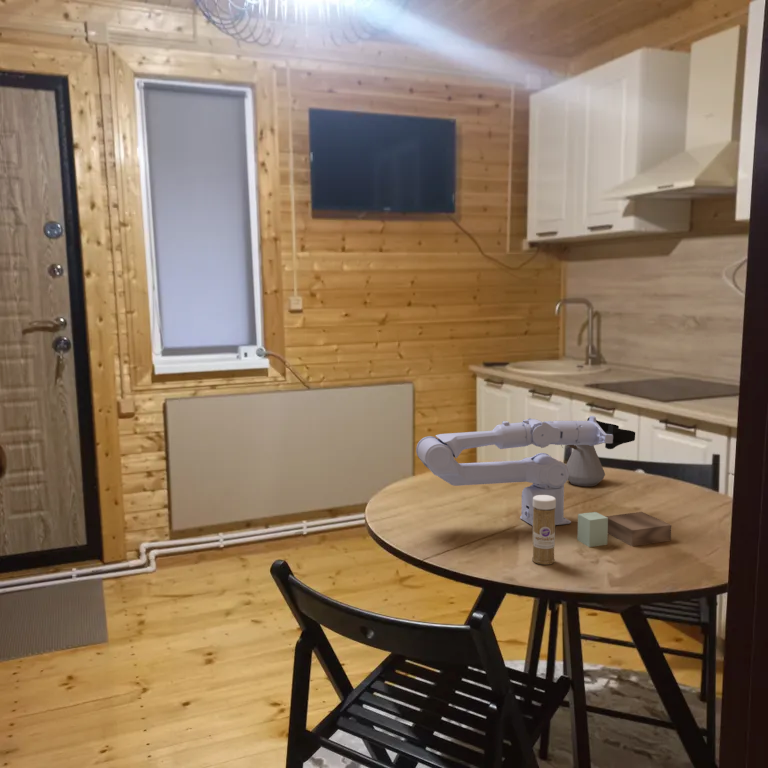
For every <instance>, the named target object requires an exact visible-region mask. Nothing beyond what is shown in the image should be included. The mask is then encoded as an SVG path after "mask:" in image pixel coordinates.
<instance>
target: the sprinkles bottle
mask: <svg viewBox="0 0 768 768" xmlns="http://www.w3.org/2000/svg"><path fill="white" fill-rule="evenodd" d="M555 507H556V499H555V497H553V496H549V495H536V496H534V497H533V509H534V510H533V526H532V559H531V560H532V561H533V562H534V563H535V564H538V565H544V566H546V565H552V564H554V563H555V561H556V559H555V544H556V541H555V539H556V538H555V537H556V525H555Z"/></svg>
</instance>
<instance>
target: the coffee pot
mask: <svg viewBox="0 0 768 768" xmlns="http://www.w3.org/2000/svg"><path fill="white" fill-rule="evenodd" d="M560 446H561V448H563V445H560ZM566 446H567V447H566V449H568V448H571V449H572V452H571V454H570V456H569V458H568V460H567V462H566V463H565V465H566V466H567V467H568V470H569V477H568V479H567V481H569V483H570V484H571V485H573V486H579V487H593V486H597V485H598V484H599V483H600V482H602V481H603V480H604V478H605V476H606V473H605V470H604V469H603V465H602V463H601V460H600V458H599V456H598V453H597V450H596V448H595V445H594V446H590V445H566Z"/></svg>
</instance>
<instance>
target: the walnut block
mask: <svg viewBox="0 0 768 768" xmlns="http://www.w3.org/2000/svg"><path fill="white" fill-rule="evenodd" d="M604 516H605V517H607V518H608V535H610V536H612V537H614V538H616V539H618V540H619V541H622V542H623V543H626V544H627V545H629V546H630V547H635V546H642V545H649V544H656V543H664V542H668V541H669V542H670V541H672V524H670V523H668V522H667V521H666V522H665V521H664V520H661V519H659V518H657V517H654V516H652V515H650V514H648V513H646V512H643V511H637V512H636V511H635V512H629V513H622V514H615V515H614V514H613V515H608V516H607V515H604Z"/></svg>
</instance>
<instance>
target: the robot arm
mask: <svg viewBox="0 0 768 768" xmlns="http://www.w3.org/2000/svg"><path fill="white" fill-rule="evenodd" d="M619 427H620V426H619V425H617V424H614V423H608V422H604V421H600V420H597V417H596V416H594V415H590V416H589V417H588V418H587V420H546V421H545V420H544V421H541V420H539V419H535V418H530V417H529V418H527V419H523V420H522V421H521V422H511V423H510V421H508V420H506V421H505V420H504V421H502V422H501V423H500V424H497V425H495V426H494V428H493V429H492V430H485V431H484V430H483V431H482V430H480V431H467V432H465V431H464V432H453V433H452V432H449V433H439V434H436V435H435V436H431V435H429V436H428V435H427V436H424V437H423V438H421V439H420V440H419V441H418V442H417V445H416V448H415V449H416V450H415V452H416V455H417V457H418V458H419V460H420V462H421V463H423V465H424V467H426V468H427V469H428V470H429V471H430V472H431V473H432V474H433V475H434V476H436V477H438V478H440V479H441V480H443V481H445V483H448V484H449V485H451V486H453V487H457V486H459V487H460V486H473V485H475V486H476V485H490V484H491V485H492V484H493V485H494V484H509V483H512V484H513V483H531V485H529V486H526V487H524V488H523V489H522V491H521V515H520V516H519V519H521V520H523V521H524V522H526V523H527V524H529V525H531V526H532V527H533V510H534V509H533V497H534V496H536V495H549V496H553V497H555V499H556V507H555V526H560V525H568V524H571V523H572V521H571V520H569V519H568V518H566V517H564V511H565V510H564V508H565V507H564V505H565V484H566V483H567V482H568V480H567V479H568V477H569V470H568V467H567V466H566V463H564V462H563V461H560V460H557V459H556V458H554V457H552V456H551V455H549V454H548V453H545V452H539V453H536V454H535V455H533V456H530V457H523V459H521V460H504V461H502V460H501V461H484V462H483V461H482V462H466V463H465V462H461V463H460V462H458V461H457V460H456V459H457V458H458V457H459V456H460V455H461V454H462V451H464V450H468V449H473V448H474V449H476V448H481V447H487V446H493V445H495V447H497V448H498V449H500V450H506V449H513V448H522V447H523V448H524V447H529V446H530V445H533V446H536V447H539V448H541V449H543V448H546V447H549V445H554V446H561V445H562V446H567V445H590V446H594V447H595V446H598V445H601V444H605V446H604V447H605V449H607V450H613V449H615V448H616V447H618V446H620V445H623V444H627V443H631V442H634V441H635V440H636V432H635V431H633V430H629V429H623V428H619Z"/></svg>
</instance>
